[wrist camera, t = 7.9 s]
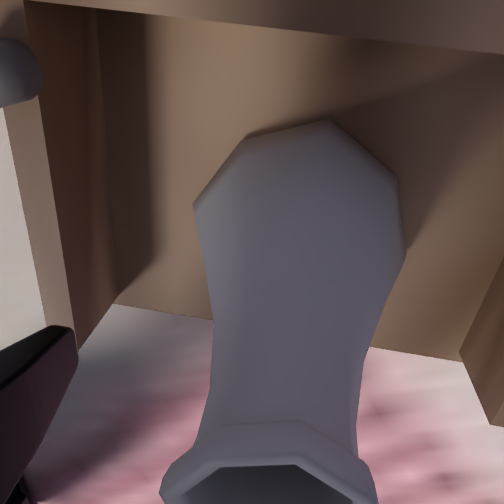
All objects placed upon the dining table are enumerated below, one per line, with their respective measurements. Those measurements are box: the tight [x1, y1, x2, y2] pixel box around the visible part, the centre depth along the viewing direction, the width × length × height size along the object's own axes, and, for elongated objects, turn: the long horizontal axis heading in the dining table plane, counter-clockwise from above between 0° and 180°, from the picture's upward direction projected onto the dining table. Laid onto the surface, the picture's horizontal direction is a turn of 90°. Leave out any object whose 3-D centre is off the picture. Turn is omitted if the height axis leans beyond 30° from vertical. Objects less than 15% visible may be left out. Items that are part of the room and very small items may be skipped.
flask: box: [159, 119, 407, 504], centre depth 10 cm, size 7×7×10 cm
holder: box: [0, 0, 504, 427], centre depth 12 cm, size 16×12×5 cm
